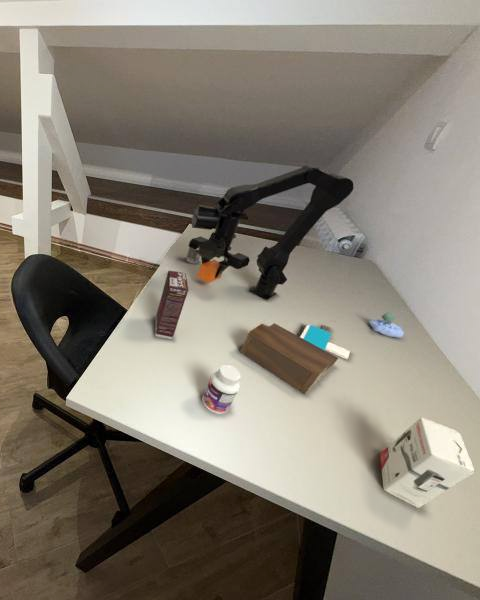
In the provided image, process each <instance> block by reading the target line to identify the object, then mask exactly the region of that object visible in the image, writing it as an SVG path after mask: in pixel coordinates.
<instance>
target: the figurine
mask: <svg viewBox="0 0 480 600" xmlns="http://www.w3.org/2000/svg"><path fill="white" fill-rule="evenodd" d="M395 319H396V317H395V315H394V314H393V313H392V312H386V313H383V314H382V315H381V318H377V319H371V320H369V325H370V327H372V330H373V331H374V332H377V333H380V334H381V335H384V336H386V337H391V338H398V339H400V338H401V339H402V338H403V337H404V334H405V333H404V330H403V329H402V327H401V326H398V325H397V324H396V323H394V322H393V321H394V320H395Z"/></svg>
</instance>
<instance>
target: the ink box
mask: <svg viewBox="0 0 480 600" xmlns="http://www.w3.org/2000/svg"><path fill="white" fill-rule="evenodd" d="M379 463H380V470H381V478H382V485H383V486H382V487H383V491H385V492H387V493H388V494H390V495H392V496H394V497H396V498H397V499H400V500H402V501H403V502H406V503H407V504H409V505H410V506H411V505H412V506H413V507H415V508H418V509H419V508H422V507H423V506H424V505H425V504H427V503H429V502H430V501H432V500H433V499H435V498H436V497H438V496H440V495H442V493H444V492H446V491H447V490H449V489H451V488H453V487H454V486H455V485H457V484H459V483H461V482H462V481H463V480H465V479H466V478H468V477H470V476H471V475H473V474H474V471H475V468H474V466H473V463H472V460H471V458H470V456H469V452H468V450H467V448H466V445H465V442H464V439H463V437H462V434H461V433H460V432H458V431H457V430H454V429H453V428H451V427H448V426H446V425H443V424H440V423H438V422H436V421H433V420H430V419H428V418H425V417H422V416H421V417H419V419H417V420H416V421H415V422H414V423H413V424H411V425H410V427H408V428H407V429H406V430H405V431H404V432H403V433H401V434H400V435H399V436H398V437H396V439H394V440H393V441H392V442H391V443H390V444H388V446H386V447H385V448H384V449H383V450H382V451H380V452H379Z"/></svg>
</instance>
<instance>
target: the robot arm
mask: <svg viewBox="0 0 480 600" xmlns="http://www.w3.org/2000/svg"><path fill="white" fill-rule="evenodd" d="M306 184H307V185H308V184H311V185H313V186H315V187H314V189H313V190H312V193H311V196H310V200H309V203H308V204H307V205H306V206H305V208H304V209H303V210H302V212H301V213H299V215H298V216H297V218H296V219H295V220H294V221H293V222H292V224H291V225H290V226H289V227H288V229H287V230H286V231H285V232H284V234H283V235H282V236H281V237H280V239H279V240H278V241H277V242H276V244H274V245H272V246H270V247H268V246H264V247H263V249H262V251H261V252H260V253H259V254H257V256H256V257H257V259H256V266H257V267H258V271H259V273H260V275H259V278H258V280H257V282H256V284H255V286H254V287H252V288H250V289H249V292H251V293H253V294H255V295H256V296H258V297H261V298H263V299H264V300H266V301H267V300H268V301H269V300H270V299H272V298H274V297H275V296H277V294H278V293H277V292H276V289H277V287H278V285H281V286H283V285H284V284H285V283H286V282H287V281H288V278H287V277H286V274H285V273H284V270H285V268H286V267H287V265H288V263H289V259H290V256H291V253H292V252H293V251H294V249H296V247H297V246H298V245H299V244H300V242H301V241H302V240H303V239H304V238H305V237H306V236H307V235H308V233H309V232H310V231H311V230H312V229H313V227H314V226H315V225H316V224H317V223H318V221H319V220H321V218H322V217H323V216H324V214H326V212H328V211H330V210H332V209H333V208H334V207H337V206H338V205H341V203H343V201H345V199H347V198H348V197H349V196H350V195H351V194H352V192H353V191H354V188H355V186H354V182H353V180H351V179H350V178H348V177H345V176H343V175H340V174H338V173H333V172H332V173H327V172H324V171H323V170H321V169H319V168H318V167H316V166H314V165H310V164H306V165H303V166H301V167H299V168H297V169H294V170H291V171H289V172H285V173H283V174H280V175H277V176H275V177H271V178H269V179H266V180H264V181H261V182H258V183H254V184H243V185H238V186H233V187H231V188H228V189H227V190H226V192H225V194H224V195H223V196H222V197H221V198H220V199H219V200H217V202H215V203H214V204H213V206H209V205H207V206H206V205H203V204H198V205H197V208H196V209H195V210H194V212H193V213H192V218H191V228H193V229H200V230H210V231H212V230H213V229H215V230H214V232H211V234H210V237H209V238H205V237H203V236H197V237H193V238H191V239H190V240H189V243H188V247H191V248H193V249H198V248H199V250H198V251H197V253H199V255H200V259H201V264H203V263H206V262H208V261H211V260H214V258H217V259H220V258H223V260H220V261H218V262H219V268H218V270H217V272H216V275H215V278H218V277H219V276H220V275H221V274H222V275H223V273H224V272H225V271H226V269H228V268H229V267H231V268H234V269H235V270H240V269H243V268H245V267H247V266H249V264H250V257H249V255H248V256H247V255H245V254H243V253H240V252H237V253H231V252H230V251H231V250H232V246H231V245H232V242H233V239H236V237H237V235H236V232H237V229H238V226H239V224H240V221H241V220H243V221H247V220H249V216H248V215H247V213H246V210H247V209H249V208H251V207H253V206H255V205H256V204H257V203H258V202H259V201H261V200H263V199H266V198H269V197H273V196H275V195H277V194H281V193H284V192H287V191H290V190H292V189H295V188H298V187H301V186H304V185H306ZM222 272H223V273H222ZM222 275H221V276H222Z"/></svg>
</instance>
